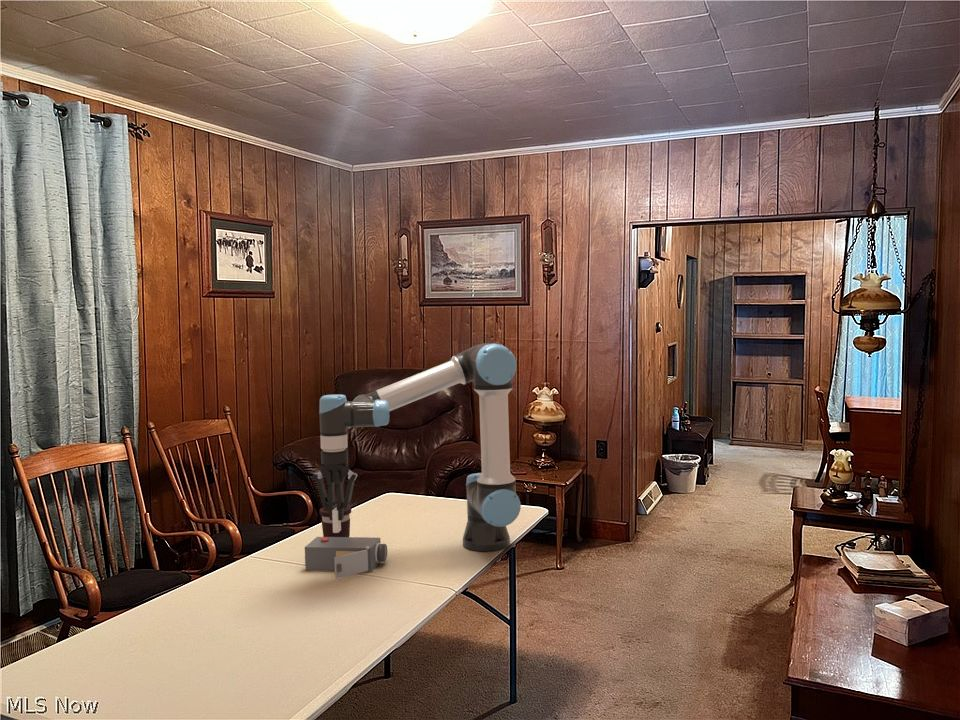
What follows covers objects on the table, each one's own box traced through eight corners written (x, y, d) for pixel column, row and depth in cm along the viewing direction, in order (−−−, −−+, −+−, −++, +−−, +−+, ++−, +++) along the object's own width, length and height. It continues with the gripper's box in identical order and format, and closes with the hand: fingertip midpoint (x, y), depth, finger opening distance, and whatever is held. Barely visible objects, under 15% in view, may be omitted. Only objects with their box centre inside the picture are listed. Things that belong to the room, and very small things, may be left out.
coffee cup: (356, 545, 233) (354, 499, 233) (347, 555, 224) (346, 507, 223) (326, 544, 234) (324, 499, 234) (317, 554, 225) (315, 507, 224)
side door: (366, 569, 207) (366, 549, 207) (369, 571, 206) (368, 550, 206) (335, 578, 201) (334, 557, 201) (337, 579, 200) (336, 558, 200)
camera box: (388, 560, 217) (387, 535, 217) (378, 573, 206) (377, 546, 206) (317, 559, 221) (316, 534, 220) (304, 571, 210) (303, 545, 209)
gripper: (360, 447, 206) (363, 527, 208) (317, 446, 208) (319, 527, 209) (352, 451, 199) (355, 535, 200) (307, 451, 201) (310, 534, 202)
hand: (337, 531), depth 205 cm, fingers closed
